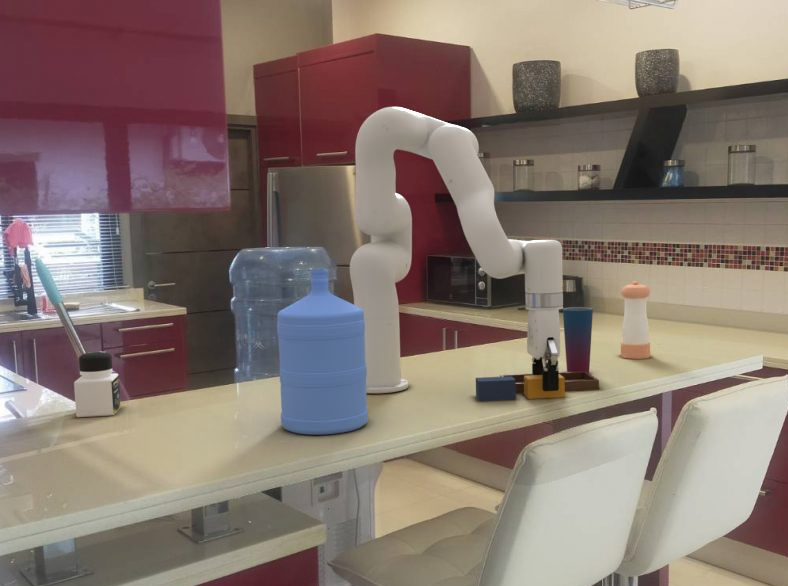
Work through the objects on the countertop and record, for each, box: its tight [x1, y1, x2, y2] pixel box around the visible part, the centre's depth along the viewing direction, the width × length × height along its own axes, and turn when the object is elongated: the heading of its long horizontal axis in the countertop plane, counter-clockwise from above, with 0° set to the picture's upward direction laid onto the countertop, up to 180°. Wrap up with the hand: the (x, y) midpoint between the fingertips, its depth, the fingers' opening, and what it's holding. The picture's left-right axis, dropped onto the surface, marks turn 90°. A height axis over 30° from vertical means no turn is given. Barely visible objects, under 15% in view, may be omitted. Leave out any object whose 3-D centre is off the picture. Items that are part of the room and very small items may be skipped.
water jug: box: [276, 269, 369, 436], centre depth 154 cm, size 16×16×28 cm
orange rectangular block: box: [523, 374, 566, 400], centre depth 175 cm, size 8×4×4 cm, turn 95°
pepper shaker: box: [620, 280, 651, 360], centre depth 218 cm, size 7×7×19 cm
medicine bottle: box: [73, 351, 122, 418], centre depth 170 cm, size 7×7×12 cm
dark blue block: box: [475, 376, 517, 402], centre depth 174 cm, size 8×4×4 cm, turn 95°
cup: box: [562, 306, 594, 374], centre depth 198 cm, size 7×7×15 cm
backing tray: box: [499, 371, 600, 394], centre depth 185 cm, size 19×10×2 cm, turn 95°
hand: (545, 386), depth 176 cm, fingers open, 8 cm apart
